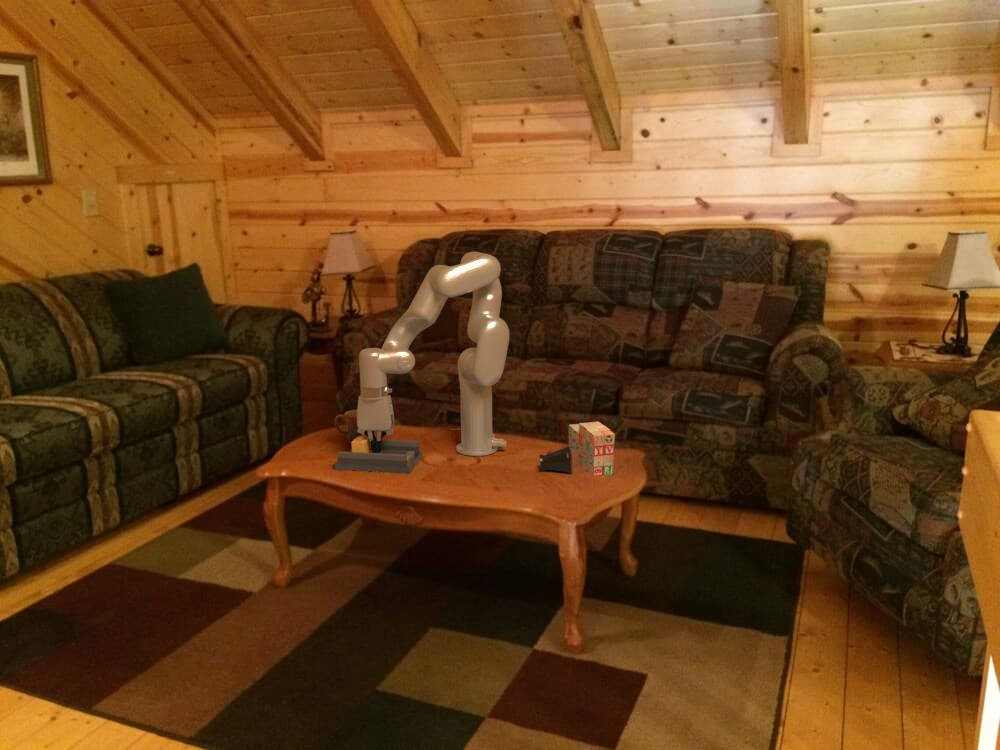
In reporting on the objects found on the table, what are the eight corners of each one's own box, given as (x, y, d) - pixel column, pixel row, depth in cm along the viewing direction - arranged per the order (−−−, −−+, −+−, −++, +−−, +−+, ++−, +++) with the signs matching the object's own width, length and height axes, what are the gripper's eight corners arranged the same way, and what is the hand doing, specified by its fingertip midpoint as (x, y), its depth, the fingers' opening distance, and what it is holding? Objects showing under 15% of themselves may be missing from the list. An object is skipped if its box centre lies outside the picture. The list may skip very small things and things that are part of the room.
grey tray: (419, 451, 253) (419, 440, 252) (405, 467, 239) (405, 456, 238) (355, 448, 256) (354, 437, 255) (337, 463, 242) (337, 453, 241)
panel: (422, 458, 253) (422, 448, 252) (409, 473, 239) (409, 463, 239) (351, 454, 256) (351, 445, 256) (335, 469, 243) (334, 459, 242)
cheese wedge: (372, 452, 251) (371, 434, 249) (365, 459, 245) (364, 440, 244) (359, 452, 251) (358, 433, 250) (352, 458, 246) (351, 439, 244)
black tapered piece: (572, 475, 236) (541, 478, 237) (576, 462, 254) (547, 466, 255) (568, 448, 235) (538, 452, 237) (572, 438, 253) (544, 441, 254)
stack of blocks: (567, 454, 256) (568, 414, 253) (587, 452, 257) (588, 413, 255) (593, 477, 236) (593, 434, 233) (614, 475, 237) (615, 432, 235)
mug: (376, 440, 270) (375, 409, 268) (371, 448, 262) (370, 416, 260) (339, 440, 271) (337, 409, 269) (332, 448, 262) (331, 416, 260)
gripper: (402, 389, 245) (405, 449, 249) (353, 387, 248) (356, 447, 252) (395, 395, 238) (397, 458, 242) (344, 394, 241) (347, 455, 245)
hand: (376, 452), depth 247 cm, fingers closed
